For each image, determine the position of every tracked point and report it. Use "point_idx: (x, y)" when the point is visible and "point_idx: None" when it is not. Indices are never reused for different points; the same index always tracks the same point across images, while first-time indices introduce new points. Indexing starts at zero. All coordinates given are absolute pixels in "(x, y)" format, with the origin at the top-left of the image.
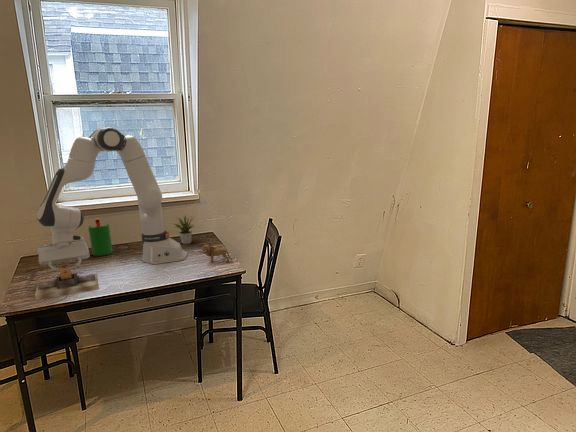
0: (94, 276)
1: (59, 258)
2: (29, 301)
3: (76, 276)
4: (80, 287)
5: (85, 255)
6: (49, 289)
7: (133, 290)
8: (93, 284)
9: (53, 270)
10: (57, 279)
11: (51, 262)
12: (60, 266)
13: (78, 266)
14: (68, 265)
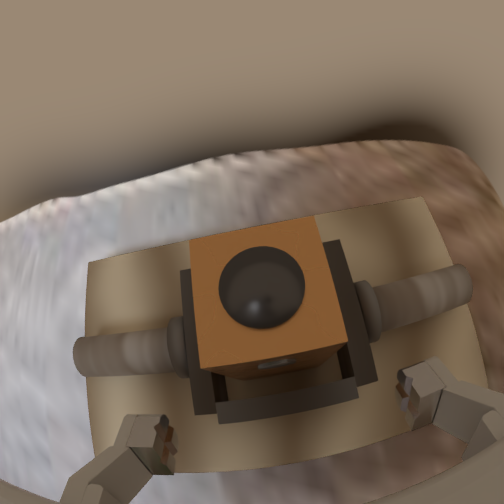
0: (82, 337)
1: (401, 499)
2: (436, 210)
3: (186, 325)
4: (177, 243)
5: (13, 485)
6: (381, 268)
7: (20, 213)
8: (109, 266)
9: (421, 362)
10: (348, 303)
11: (493, 427)
12: (335, 322)
13: (139, 414)
14: (219, 332)
